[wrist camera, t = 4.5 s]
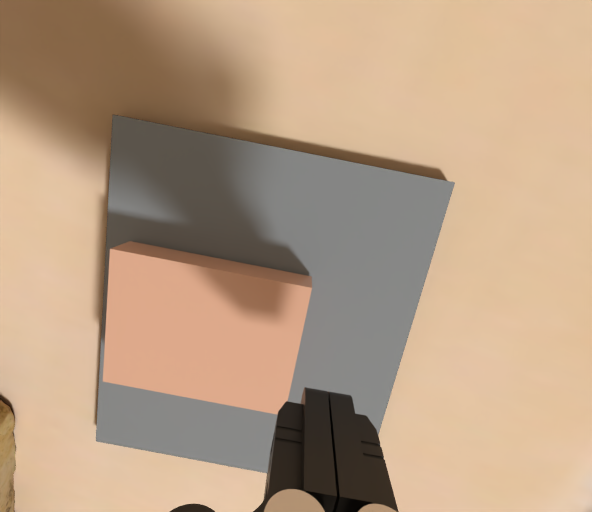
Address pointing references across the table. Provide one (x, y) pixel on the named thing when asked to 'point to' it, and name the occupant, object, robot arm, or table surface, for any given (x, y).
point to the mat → (276, 255)
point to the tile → (203, 326)
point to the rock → (7, 458)
